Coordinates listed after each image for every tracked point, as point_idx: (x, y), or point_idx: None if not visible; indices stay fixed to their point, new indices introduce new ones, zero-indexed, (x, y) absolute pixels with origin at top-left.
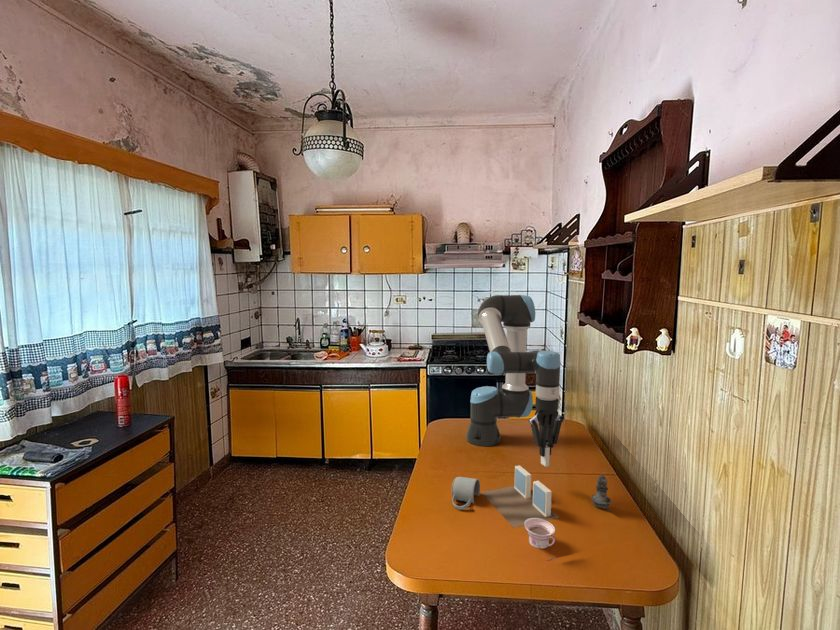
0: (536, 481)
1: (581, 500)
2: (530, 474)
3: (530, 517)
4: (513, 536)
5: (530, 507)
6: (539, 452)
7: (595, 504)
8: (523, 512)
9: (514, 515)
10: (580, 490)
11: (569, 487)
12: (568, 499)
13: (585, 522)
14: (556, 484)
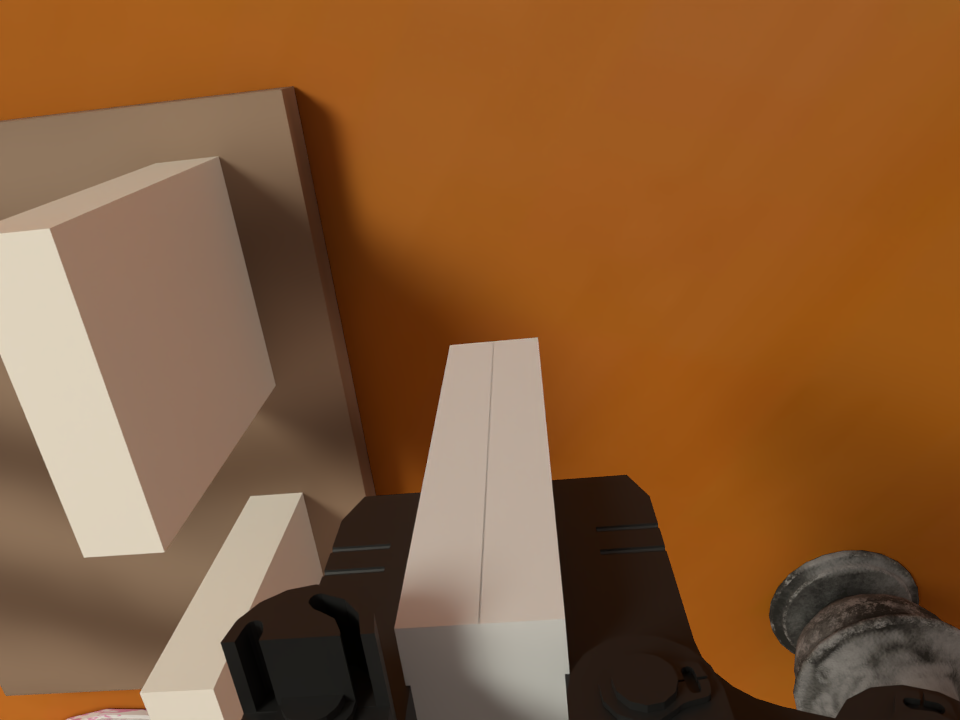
0: (181, 702)
1: (794, 463)
2: (157, 542)
3: (168, 633)
4: (15, 707)
5: (217, 522)
6: (334, 548)
7: (795, 671)
8: (131, 569)
9: (43, 585)
10: (941, 302)
11: (872, 215)
12: (682, 423)
13: None
14: (769, 110)
